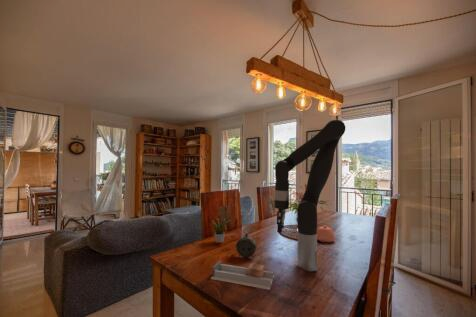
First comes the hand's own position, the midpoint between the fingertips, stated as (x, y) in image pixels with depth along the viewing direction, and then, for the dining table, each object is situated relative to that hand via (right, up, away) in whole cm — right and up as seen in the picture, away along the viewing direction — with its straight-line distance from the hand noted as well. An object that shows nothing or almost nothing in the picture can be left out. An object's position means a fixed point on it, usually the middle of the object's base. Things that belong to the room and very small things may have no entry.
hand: (280, 230), depth 114 cm
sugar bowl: (+37, -20, +37) cm, 56 cm away
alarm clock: (-18, -18, +5) cm, 26 cm away
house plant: (-33, -19, +32) cm, 50 cm away
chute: (-20, -16, -17) cm, 31 cm away
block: (-14, -15, -19) cm, 28 cm away
